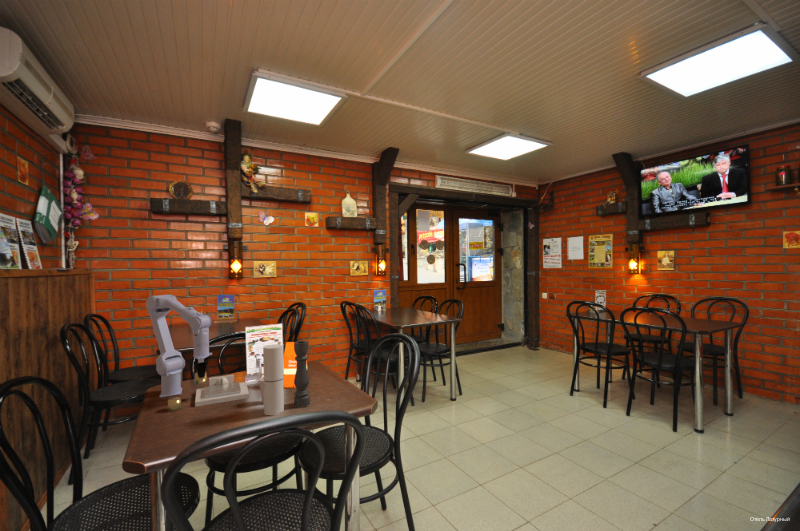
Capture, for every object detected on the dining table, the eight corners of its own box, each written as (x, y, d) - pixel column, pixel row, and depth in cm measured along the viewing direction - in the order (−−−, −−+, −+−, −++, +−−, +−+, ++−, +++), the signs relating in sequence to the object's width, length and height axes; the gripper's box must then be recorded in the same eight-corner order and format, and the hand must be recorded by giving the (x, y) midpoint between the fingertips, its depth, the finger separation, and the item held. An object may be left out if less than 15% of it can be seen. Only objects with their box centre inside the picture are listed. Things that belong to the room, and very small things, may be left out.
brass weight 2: (195, 381, 154) (195, 372, 154) (206, 380, 156) (207, 371, 156) (194, 384, 150) (194, 375, 150) (206, 383, 152) (206, 373, 152)
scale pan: (204, 389, 159) (204, 387, 159) (239, 384, 165) (239, 381, 165) (203, 397, 148) (203, 395, 148) (240, 392, 154) (240, 389, 154)
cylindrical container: (272, 417, 133) (271, 349, 133) (260, 413, 137) (259, 347, 137) (287, 410, 139) (287, 345, 139) (275, 406, 143) (274, 343, 143)
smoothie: (269, 405, 144) (269, 370, 144) (255, 404, 145) (254, 369, 146) (278, 399, 150) (277, 366, 151) (264, 398, 152) (264, 365, 152)
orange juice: (302, 387, 166) (302, 343, 166) (283, 387, 166) (283, 343, 166) (307, 381, 174) (306, 340, 174) (289, 382, 174) (288, 340, 174)
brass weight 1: (168, 408, 143) (168, 398, 143) (181, 406, 145) (181, 396, 145) (167, 412, 139) (167, 402, 139) (180, 410, 141) (180, 400, 141)
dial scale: (196, 393, 160) (196, 379, 160) (245, 385, 169) (245, 372, 169) (195, 406, 144) (194, 391, 144) (249, 397, 153) (249, 383, 153)
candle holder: (295, 402, 147) (295, 340, 148) (311, 401, 148) (310, 340, 148) (292, 408, 141) (291, 344, 141) (308, 407, 142) (307, 343, 142)
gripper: (211, 346, 149) (212, 379, 149) (212, 340, 162) (212, 370, 162) (192, 348, 146) (192, 381, 145) (194, 341, 158) (194, 372, 158)
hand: (201, 376), depth 153 cm, fingers closed on brass weight 2, 4 cm apart
